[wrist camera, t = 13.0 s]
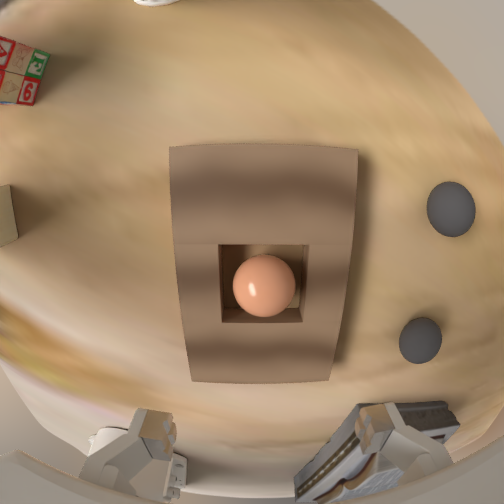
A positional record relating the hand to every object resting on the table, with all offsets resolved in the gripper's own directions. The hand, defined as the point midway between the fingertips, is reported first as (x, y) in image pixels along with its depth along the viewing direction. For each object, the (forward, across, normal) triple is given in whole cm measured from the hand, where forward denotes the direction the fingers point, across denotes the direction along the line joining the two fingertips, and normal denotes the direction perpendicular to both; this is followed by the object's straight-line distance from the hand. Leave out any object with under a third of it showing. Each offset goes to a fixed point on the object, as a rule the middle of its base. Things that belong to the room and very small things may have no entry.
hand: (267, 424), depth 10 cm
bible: (+17, +19, -32) cm, 41 cm away
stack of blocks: (+16, -33, +25) cm, 44 cm away
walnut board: (+16, 0, +1) cm, 16 cm away
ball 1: (+13, +17, -6) cm, 23 cm away
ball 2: (+13, +17, +8) cm, 23 cm away
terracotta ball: (+13, 0, +1) cm, 13 cm away
